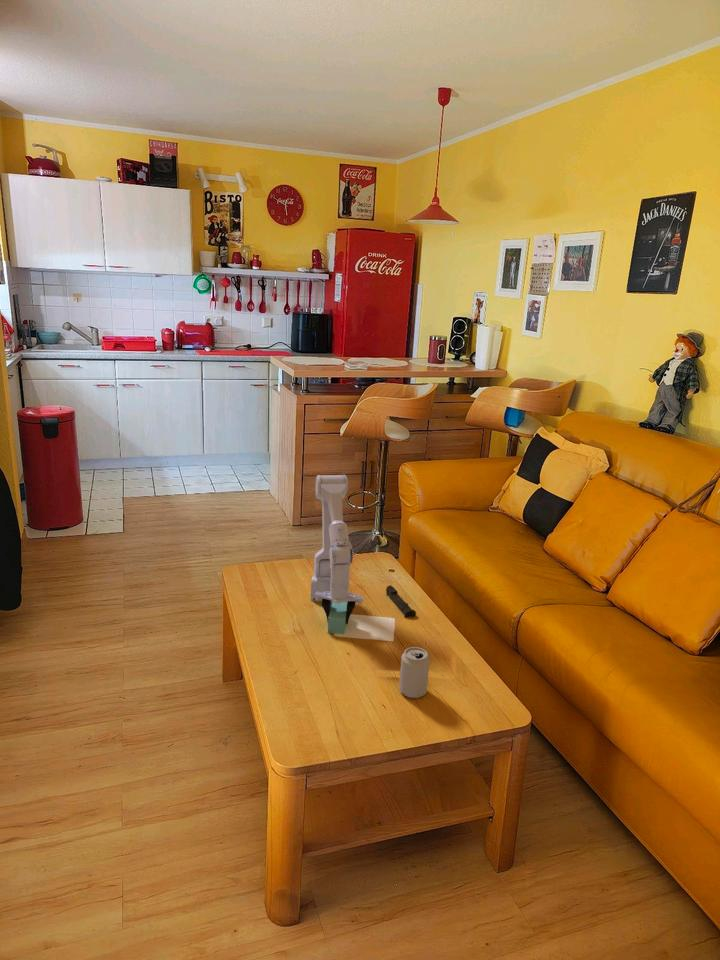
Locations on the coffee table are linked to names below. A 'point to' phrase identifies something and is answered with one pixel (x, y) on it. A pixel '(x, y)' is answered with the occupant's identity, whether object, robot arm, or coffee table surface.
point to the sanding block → (337, 618)
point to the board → (369, 628)
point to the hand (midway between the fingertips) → (337, 621)
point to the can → (414, 672)
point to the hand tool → (399, 602)
